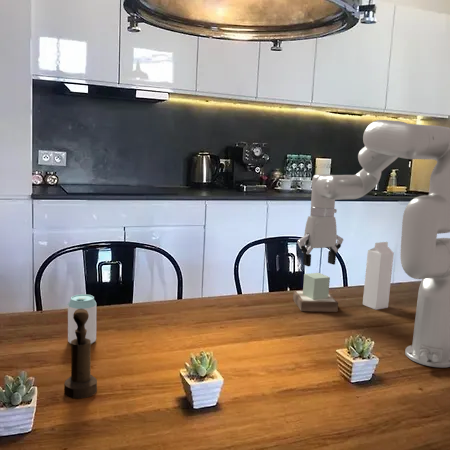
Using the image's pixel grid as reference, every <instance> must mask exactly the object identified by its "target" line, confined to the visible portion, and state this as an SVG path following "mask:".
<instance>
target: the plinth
mask: <svg viewBox="0 0 450 450" xmlns="http://www.w3.org/2000/svg"><path fill="white" fill-rule="evenodd" d="M292 294H293V295H292V301H294V304H295V305H296V306H297V307H298V309H299V311H301V312H331V313H333V312H334V313H336V312H339V310H338V309H339V302H338V300H336V299H335V297H333V296H332V294H331V293H329V294H328V298H323V299H311V298H309V297H307V296H305V295H303V290H294V291H293V292H292Z"/></svg>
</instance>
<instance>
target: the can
mask: <svg viewBox="0 0 450 450" xmlns="http://www.w3.org/2000/svg"><path fill="white" fill-rule="evenodd" d="M77 309H85V310H87V312H88V314H89V317H88V320H87V322H86V323H85V329H86V330H87V333H86V337H85V338H87V339H89V340H90V341H91V345H92V344H93V343H96V341H97V302H96V300H95V296H93V295H91V294H83V293H81V294H75V295H73V296H71V297H70V300H69V302H68V304H67V342H68V343H69V344H71V341H72V340H74V339H77V337H76V333H75V330H76V329H77V328H78V326H77V324H76V322H75V320H74V318H73V315H74V312H75V311H76V310H77Z"/></svg>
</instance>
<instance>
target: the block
mask: <svg viewBox="0 0 450 450" xmlns="http://www.w3.org/2000/svg"><path fill="white" fill-rule="evenodd" d="M330 280H331V277H330V276H327V275H325V274H323V273H321V272H313V273H312V272H311V273H304V274H303V285H302V286H303V287H302V291H303V295H305V296H307V297H309V298H311V299H323V298H328V294H330V291H329V290H330Z"/></svg>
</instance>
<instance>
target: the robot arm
mask: <svg viewBox="0 0 450 450" xmlns="http://www.w3.org/2000/svg"><path fill="white" fill-rule="evenodd" d="M362 140H363V141H362V142H363V144H364V147H362V148H361V149H360V150H359V152H358V154H357V159H358V162H359V165H360V166H361V168H362V169H361V170H359V171H358V172H357V173H356V174H325V173H324V174H323V173H322V174H321V173H320V174H319V173H318V174H314V175H313V177H312V179H311V180H312V182H311V198H310V199H311V201H310V213H309V214H310V216H307V219H306V223H305V229H304V235H303V236H302V237H300V238H299V239H297V245H298V248H299V250H300V251H301V253H302V254H303V256H302V257H303V258H302V262H303V266H305V267H308V268H309V267H311V265H312V263H311V262H312V254H311V252H312V251H313V249H324V248H325V249H327V248H328V249H329V250H328V256H327V263H328V264H331V265H336V262H337V261H336V259H337V258H336V257H337V253H338V252H339V249H340V248H341V247H342V244H343V242H344V238H343V237H341V236H339V235H338V234H337V230H338V229H337V220H336V217H335V214H337V210H338V209H337V208H336V207H335V204H336V201H337V200H340V201H341V200H356V199H361V198H362V197H364V196H366V195H367V194H368V193H369V192H371V191H372V190H373V189H374V188H375V187H377V185H378V184H379V182H380V179H381V177H382V172H383V171H384V170H385V169H386V168H388V167H389V166H390V165H391V164H392V163H394V162H395V161H396V160H397V159H398V158H399V159H400V158H401V159H407V160H434V161H436V164H435V165H434V167H433V169H432V172H431V174H430V176H429V191H428V194H427V195H419V196H416V197H413V199H411V200H410V201H409V202H408V204H407V205H406V207H405V208H404V211H403V215H402V222H401V223H402V224H401V241H400V263H401V267H402V269H403V271H404V273H405V274H406V275H407V276H408V277H410V278H412V279H415V280H421V282H420V284H419V288H418V291H417V292H418V294H417V299H416V300H417V302H416V310H415V319H414V325H413V326H414V327H413V328H414V329H413V334H412V335H413V337H412V344H411V345H408V346H407V347H405V351H404V352H405V353H404V354H405V356H406V357H407V358H409V359H410V361H413V362H415V363H417V364H420V365H423V366H427V367H432V368H443V369H444V368H450V237H438V235H439V234H440V235H441V234H449V233H450V127H448V126H442V125H432V124H431V125H426V124H415V123H406V122H405V121H400V120H388V119H377V120H374V121H372V122H371V123H370V124H368V125H367V127H366V128H365V129H364V132H363V136H362Z"/></svg>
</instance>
